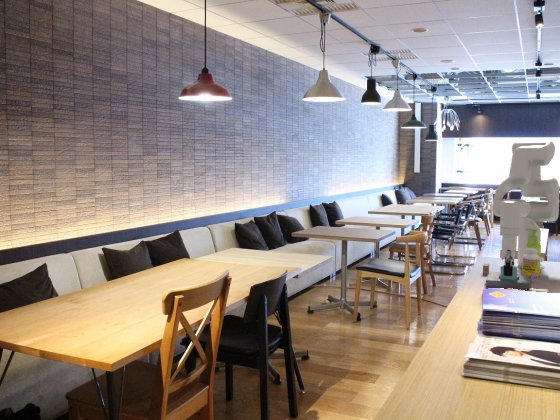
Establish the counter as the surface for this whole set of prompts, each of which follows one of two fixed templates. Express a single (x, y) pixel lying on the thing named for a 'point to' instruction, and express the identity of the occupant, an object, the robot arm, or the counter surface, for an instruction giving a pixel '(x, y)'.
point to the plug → (513, 277)
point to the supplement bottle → (531, 263)
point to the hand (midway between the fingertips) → (508, 273)
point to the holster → (487, 270)
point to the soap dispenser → (534, 242)
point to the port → (508, 282)
